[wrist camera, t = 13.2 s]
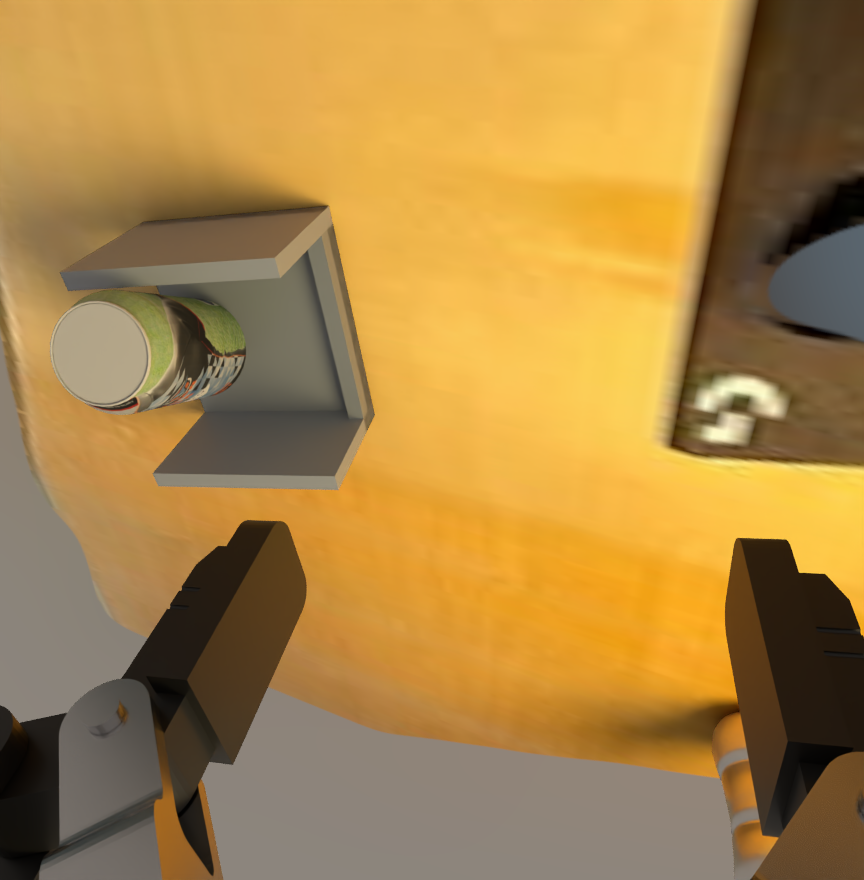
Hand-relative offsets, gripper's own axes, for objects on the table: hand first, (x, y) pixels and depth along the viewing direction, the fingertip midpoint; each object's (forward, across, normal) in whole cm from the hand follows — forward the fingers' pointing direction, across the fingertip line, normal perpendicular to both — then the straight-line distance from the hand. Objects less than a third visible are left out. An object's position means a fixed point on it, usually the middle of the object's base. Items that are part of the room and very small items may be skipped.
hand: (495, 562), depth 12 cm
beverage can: (+27, +22, +8) cm, 35 cm away
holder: (+28, +19, +8) cm, 35 cm away
